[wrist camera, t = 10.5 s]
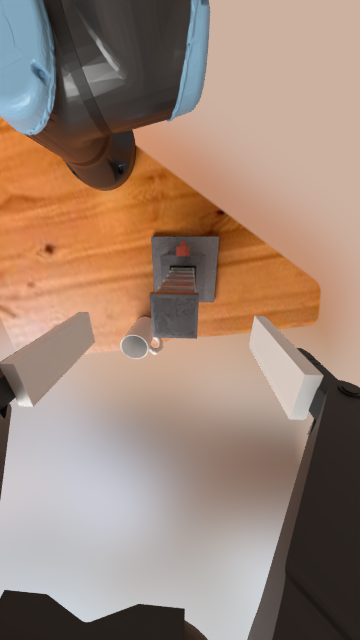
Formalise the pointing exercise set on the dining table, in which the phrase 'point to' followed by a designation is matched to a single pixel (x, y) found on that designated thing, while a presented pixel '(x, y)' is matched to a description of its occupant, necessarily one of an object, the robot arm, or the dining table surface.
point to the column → (175, 305)
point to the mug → (140, 339)
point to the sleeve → (187, 261)
